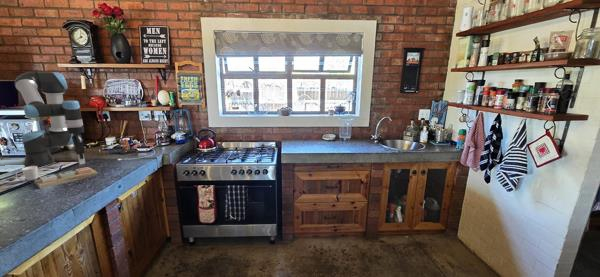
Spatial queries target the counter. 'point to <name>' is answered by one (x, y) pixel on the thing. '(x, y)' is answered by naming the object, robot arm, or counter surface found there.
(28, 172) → the cup
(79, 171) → the tile
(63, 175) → the tile
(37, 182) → the board
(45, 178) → the tile
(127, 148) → the figurine
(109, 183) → the counter surface
